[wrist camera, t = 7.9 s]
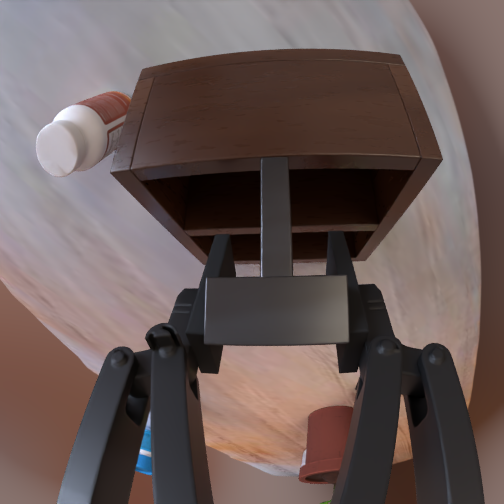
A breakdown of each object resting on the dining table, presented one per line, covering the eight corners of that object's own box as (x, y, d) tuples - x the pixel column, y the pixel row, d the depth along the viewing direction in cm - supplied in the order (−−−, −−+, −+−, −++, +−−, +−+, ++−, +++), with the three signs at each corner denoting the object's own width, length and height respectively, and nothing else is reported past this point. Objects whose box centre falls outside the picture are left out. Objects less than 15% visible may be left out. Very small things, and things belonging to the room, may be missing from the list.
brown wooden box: (138, 62, 16) (78, 333, 11) (401, 47, 14) (480, 328, 9) (207, 193, 33) (200, 342, 29) (356, 188, 31) (369, 340, 27)
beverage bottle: (169, 380, 58) (147, 467, 42) (188, 399, 63) (170, 479, 47) (137, 380, 60) (112, 460, 44) (157, 398, 65) (137, 473, 49)
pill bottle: (86, 100, 27) (20, 129, 19) (132, 82, 26) (70, 102, 17) (101, 149, 31) (44, 192, 22) (147, 136, 30) (95, 176, 21)
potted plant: (356, 392, 56) (365, 505, 36) (388, 419, 65) (397, 506, 45) (285, 414, 64) (280, 515, 44) (328, 437, 73) (329, 518, 52)
